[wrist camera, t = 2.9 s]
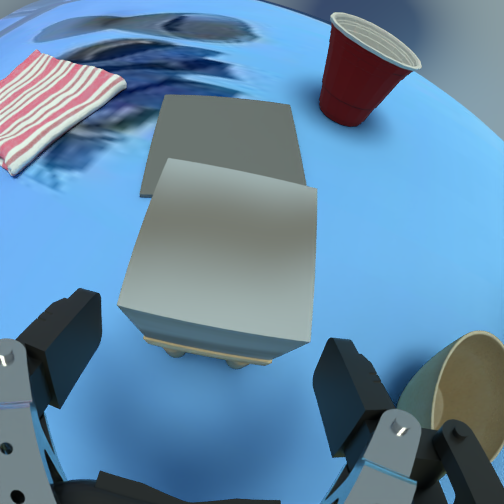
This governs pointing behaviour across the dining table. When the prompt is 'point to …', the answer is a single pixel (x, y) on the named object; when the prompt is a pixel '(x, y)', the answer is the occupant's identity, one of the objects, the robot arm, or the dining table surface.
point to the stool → (224, 265)
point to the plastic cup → (361, 68)
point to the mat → (225, 138)
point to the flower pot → (462, 389)
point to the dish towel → (47, 104)
